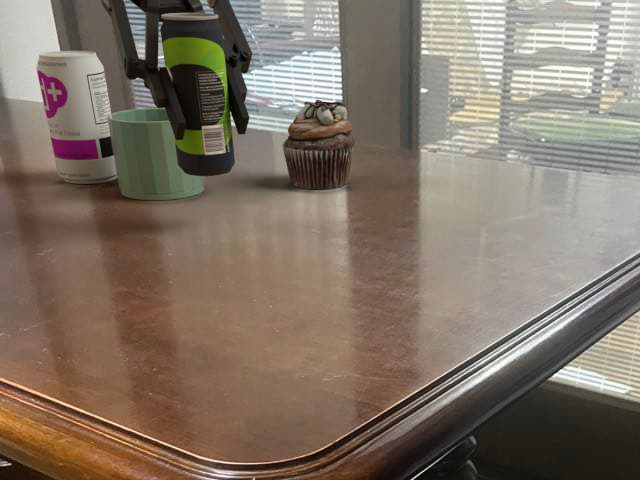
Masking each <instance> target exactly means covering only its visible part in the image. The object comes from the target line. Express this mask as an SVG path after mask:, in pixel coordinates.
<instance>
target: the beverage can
mask: <svg viewBox="0 0 640 480" xmlns="http://www.w3.org/2000/svg"><path fill="white" fill-rule="evenodd" d="M161 18H162V19H163V22H161V25H160V27H159V31H160V38H161V45H162V53H163V60H164V67H166V68H167V70H168V73H169V75H170V78H171V81H172V84H173V87H174V90H175V93H176V95H177V98H178V101H179V104H180V107H181V110H182V113H183V115H184V118H185V121H186V126H185V132H184V137H183V140H176V138H175V136H174V138H175V145H176V153H177V161H178V165H179V167H180V168H181V169H182V170H183V172H184V173H186V174H188V175H193V176H204V177H214V176H221V175H225V174H226V175H227V174H228V173H230V172H231V171H232V169H233V167H234V165H235V164H236V159H235V149H234V139H233V128H232V118H231V117H232V115H231V112H230V106H229V95H228V85H227V75H226V64H225V54H224V44H223V38H224V37H223V33H222V27H221V25H220V24H219V22H218V20H217V18H218V15H217V14H214V13H212V12H211V13H209V12H205V13H170V14H163V15H161Z"/></svg>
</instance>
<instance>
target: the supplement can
mask: <svg viewBox="0 0 640 480" xmlns="http://www.w3.org/2000/svg"><path fill="white" fill-rule="evenodd" d="M97 55H98V54H97V53H96V52H95V51H91V50H90V51H89V50H57V51H46V52H40V53H38V59H37V64H36V74H37V78H38V84H39V88H40V93H41V98H42V103H43V107H44V112H45V117H46V121H47V127H48V132H49V136H50V141H51V146H52V152H53V156H54V160H55V165H56V171H57V175H58V176H59V177H60V178H62V179H63V181H64V182H67V183H70V184H76V185H77V184H78V185H91V184H103V183H106V182H107V183H108V182H111V181H113V180H116V179H118V178H117V172H116V166H115V160H114V154H113V148H112V142H111V136H110V130H109V124H108V119H107V117H108V115H110V114H112V109H111V103H110V97H109V92H108V85H107V80H106V73H105V68H104V67H105V66H104V65H103V63H102V61H101V60H100V58H99V57H98V56H97Z"/></svg>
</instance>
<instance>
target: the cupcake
mask: <svg viewBox="0 0 640 480" xmlns="http://www.w3.org/2000/svg"><path fill="white" fill-rule="evenodd" d="M303 104H304V105H303V107H302V108H301V109H300V110H299V111H298V113H296V115H295V118H294V119H293V121H292V123H291V124H289V126H288V128H287V133H288V134H289V135H288V136H287V139H285V141H283V143H282V144H281V146H282V151H283V156H284V159H285V163H286V168H287V174H288V177H289V181H290V185H292V186H293V187H296V188H299V189H305V190H332V189H339V188H342V187H344V186H346V185H348V183H349V179H350V173H351V167H352V158H353V154H354V150H355V144H356V140H355V138H354V135H353V134H352V131H354V130H353V125H352V123H351V122H350V121H349V120H348V110H347V108H346V107H345V106H346V105H345V103H344V102H341V101H333V102H332V101H331V102H330V101H322V100H320V99H316V100H315V101H314V102H311V101H304V103H303Z"/></svg>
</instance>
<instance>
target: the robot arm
mask: <svg viewBox="0 0 640 480" xmlns="http://www.w3.org/2000/svg"><path fill="white" fill-rule="evenodd" d="M126 1H127V0H100V4H101V5H102V7H103V8H104V10H105V12H106V13H107V14H108V16H109V17H110V19H111V24H112V26H113V33H114V36H115V40H116V43H117V47H118V52H119V55H120V59H121V62H122V65H123V66H122V67H123V71H124V74H125V77H126V78H127V79H128V80H131V81H135V80H137V79H140V80H143V86H144V87H145V88H146V89H148V90H149V93H150V96H151V98H152V102H153V104H154V105H155V108H165V110H166V113H167V115H168V118H169V121H170V124H171V127H172V130H173V133H174V136H175V138H176V140H183V137H184V132H185V126H186V121H185V118H184V115H183V113H182V110H181V107H180V104H179V101H178V98H177V95H176V93H175V90H174V87H173V84H172V81H171V78H170V75H169V73H168V70H167V68H166V67H165V66H164V67H159V38H160V37H159V34H160V33H159V31H160V23H163V19H162V18H161V15H163V14H170V13H206V12H205V10H204V7H203V3H202V2H201V1H200V0H129V1H130V3H132V4H133V5H134V6H136V7H137V8H138V9H140V10H141V11H142V12H143V13H144V14H145V15H144V17H145V18H144V19H145V21H144V31H145V33H144V34H145V35H144V37H145V38H144V39H145V40H144V58H140V57H139V55H138V50H137V47H136V46H137V45H136V43H135V39H134V33H133V31H132V27H131V23H130V19H129V15H128V11H127V8H126V7H127V6H126V3H127V2H126ZM206 3H207V4H208V8H209V9H211V10H212V12H213V14H217V15H218V18H217V20H218V22H219V24H220V25H221V27H222V33H223V44H224V54H225V64H226V75H227V85H228V95H229V106H230V116H231V117H232V118H231V119H232V120H233V123H234V126H235V130H236V131H237V134H238V136H240V135H246V132H247V129H248V126H249V121H250V118H251V117H250V114H249V112H248V109H247V106H246V104H245V102H246V99H247V95H248V87H247V85H246V81H245V78H244V76H243V74H248V73H249V69H250V66H251V62H252V59H253V51H252V48H251V46H250V44H249V42H248V41H247V37H246V35H245V33H244V31H243V28H242V27H241V24H240V22H239V20H238V17H237V16H236V13H235V11H234V8H233V6H232V4H231V2H230V0H206Z"/></svg>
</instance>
